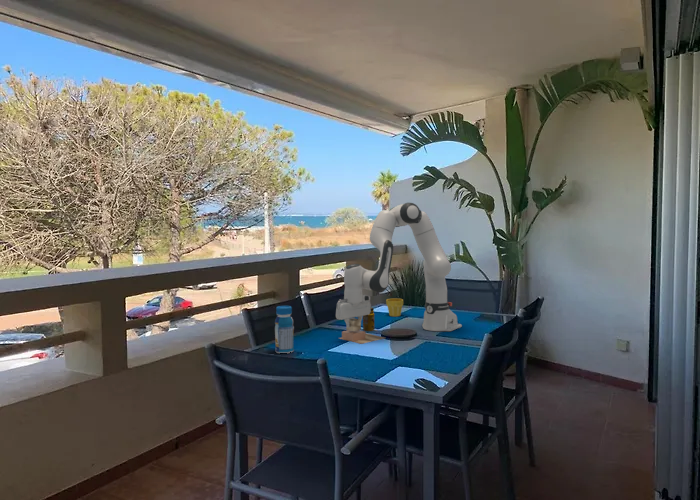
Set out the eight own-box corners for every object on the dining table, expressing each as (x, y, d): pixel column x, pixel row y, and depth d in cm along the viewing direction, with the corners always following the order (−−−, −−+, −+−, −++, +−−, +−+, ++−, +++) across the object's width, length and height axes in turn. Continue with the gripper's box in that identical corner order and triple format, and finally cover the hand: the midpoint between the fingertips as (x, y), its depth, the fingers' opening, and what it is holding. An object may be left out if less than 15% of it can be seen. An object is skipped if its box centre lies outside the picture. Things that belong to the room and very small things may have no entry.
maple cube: (353, 328, 242) (353, 318, 241) (360, 329, 238) (360, 319, 238) (346, 329, 238) (346, 319, 238) (353, 331, 235) (353, 320, 234)
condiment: (377, 331, 256) (377, 308, 256) (364, 333, 252) (364, 310, 251) (369, 328, 263) (369, 306, 262) (356, 330, 258) (356, 308, 257)
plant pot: (384, 316, 295) (384, 300, 294) (388, 313, 304) (388, 298, 304) (401, 317, 292) (401, 301, 291) (404, 314, 301) (404, 298, 301)
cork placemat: (363, 333, 251) (363, 332, 251) (386, 338, 239) (386, 337, 239) (338, 338, 240) (338, 338, 240) (361, 344, 228) (361, 344, 228)
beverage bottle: (285, 355, 211) (285, 309, 210) (271, 352, 216) (270, 307, 215) (298, 350, 219) (297, 306, 217) (283, 348, 223) (282, 304, 222)
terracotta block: (354, 336, 244) (354, 329, 244) (365, 338, 238) (365, 331, 238) (342, 338, 239) (341, 331, 238) (353, 341, 233) (353, 334, 233)
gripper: (341, 301, 228) (341, 330, 229) (372, 296, 242) (372, 324, 243) (332, 299, 233) (333, 328, 233) (363, 294, 246) (364, 322, 247)
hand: (353, 326), depth 238 cm, fingers closed on maple cube, 5 cm apart
